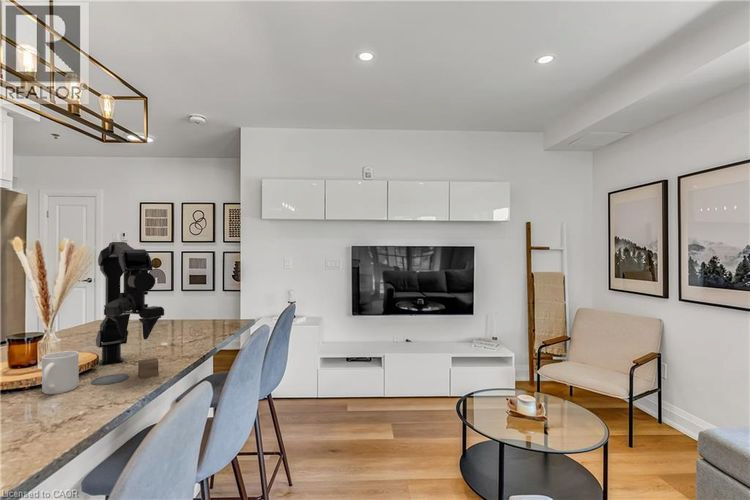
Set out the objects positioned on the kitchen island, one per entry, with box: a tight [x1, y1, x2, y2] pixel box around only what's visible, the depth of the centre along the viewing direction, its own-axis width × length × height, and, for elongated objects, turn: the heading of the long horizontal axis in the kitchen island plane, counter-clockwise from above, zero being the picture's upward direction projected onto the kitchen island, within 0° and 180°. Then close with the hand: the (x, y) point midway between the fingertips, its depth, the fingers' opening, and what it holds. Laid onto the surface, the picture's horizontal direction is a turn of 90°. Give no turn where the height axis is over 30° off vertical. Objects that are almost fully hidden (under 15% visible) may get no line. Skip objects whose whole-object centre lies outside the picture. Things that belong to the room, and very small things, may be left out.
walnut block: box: [137, 356, 159, 380], centre depth 125 cm, size 5×5×5 cm
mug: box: [41, 350, 80, 395], centre depth 111 cm, size 12×8×10 cm
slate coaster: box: [90, 373, 130, 386], centre depth 121 cm, size 10×10×1 cm
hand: (134, 338), depth 122 cm, fingers open, 9 cm apart
